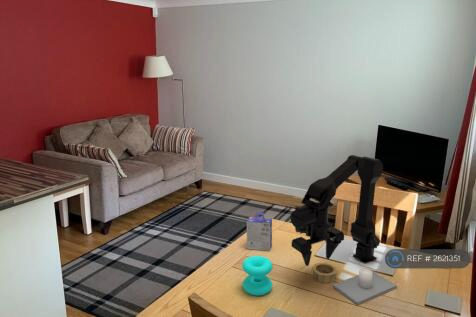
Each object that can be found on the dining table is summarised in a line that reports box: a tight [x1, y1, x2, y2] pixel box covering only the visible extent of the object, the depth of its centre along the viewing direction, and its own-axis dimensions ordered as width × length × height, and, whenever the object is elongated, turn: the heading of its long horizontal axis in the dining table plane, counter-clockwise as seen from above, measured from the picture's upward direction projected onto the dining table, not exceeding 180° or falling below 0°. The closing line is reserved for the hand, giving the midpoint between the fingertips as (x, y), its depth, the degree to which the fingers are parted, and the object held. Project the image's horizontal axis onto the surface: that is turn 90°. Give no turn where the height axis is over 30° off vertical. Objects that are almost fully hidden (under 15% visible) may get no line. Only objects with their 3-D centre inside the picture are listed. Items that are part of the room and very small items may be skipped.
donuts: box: [241, 255, 274, 296], centre depth 126 cm, size 10×10×10 cm
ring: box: [311, 262, 338, 284], centre depth 133 cm, size 8×8×3 cm
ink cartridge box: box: [246, 212, 273, 252], centre depth 154 cm, size 10×6×14 cm, turn 78°
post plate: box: [332, 267, 398, 306], centre depth 126 cm, size 18×11×6 cm, turn 119°
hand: (317, 262), depth 131 cm, fingers open, 9 cm apart
